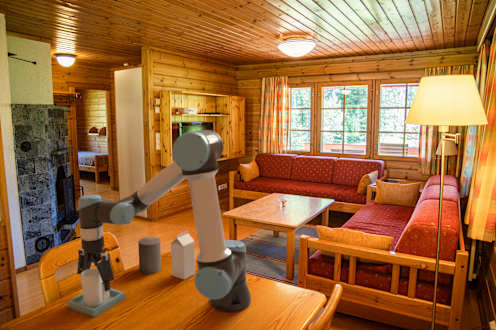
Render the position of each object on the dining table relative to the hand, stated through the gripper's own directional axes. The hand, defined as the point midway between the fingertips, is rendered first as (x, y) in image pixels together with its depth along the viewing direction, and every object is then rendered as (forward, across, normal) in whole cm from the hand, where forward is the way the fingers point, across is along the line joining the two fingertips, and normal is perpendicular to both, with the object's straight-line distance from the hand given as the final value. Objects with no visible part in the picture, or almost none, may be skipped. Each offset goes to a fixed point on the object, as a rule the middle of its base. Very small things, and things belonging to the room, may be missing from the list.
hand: (96, 295), depth 129 cm
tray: (+3, 0, 0) cm, 3 cm away
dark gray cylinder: (+3, +2, -31) cm, 31 cm away
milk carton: (+3, -15, -33) cm, 36 cm away
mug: (+3, 0, 0) cm, 3 cm away
